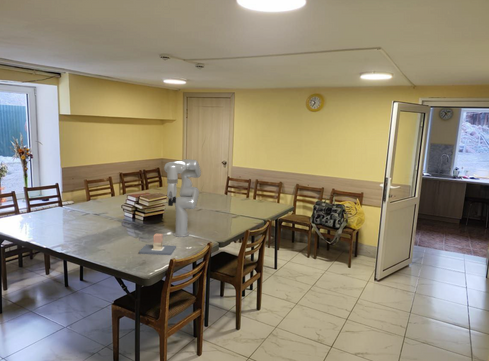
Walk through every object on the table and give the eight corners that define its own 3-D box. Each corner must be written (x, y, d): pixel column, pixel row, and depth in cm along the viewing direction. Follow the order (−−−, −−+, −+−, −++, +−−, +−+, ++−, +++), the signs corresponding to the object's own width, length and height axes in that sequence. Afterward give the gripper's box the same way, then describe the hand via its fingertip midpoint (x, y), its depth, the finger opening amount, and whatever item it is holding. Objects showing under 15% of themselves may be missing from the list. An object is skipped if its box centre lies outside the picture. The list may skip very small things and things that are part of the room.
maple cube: (155, 247, 239) (155, 240, 238) (162, 247, 239) (162, 240, 238) (153, 249, 234) (153, 242, 233) (160, 249, 234) (160, 242, 233)
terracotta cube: (155, 240, 238) (155, 233, 238) (162, 240, 238) (162, 233, 237) (153, 242, 233) (153, 235, 233) (160, 242, 233) (160, 236, 232)
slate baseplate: (146, 246, 244) (146, 244, 244) (176, 247, 244) (176, 245, 244) (138, 253, 230) (138, 251, 229) (170, 255, 229) (170, 252, 229)
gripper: (170, 179, 254) (170, 201, 256) (164, 183, 237) (164, 206, 239) (180, 180, 254) (179, 202, 256) (174, 183, 236) (174, 207, 239)
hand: (172, 204), depth 248 cm, fingers open, 9 cm apart
